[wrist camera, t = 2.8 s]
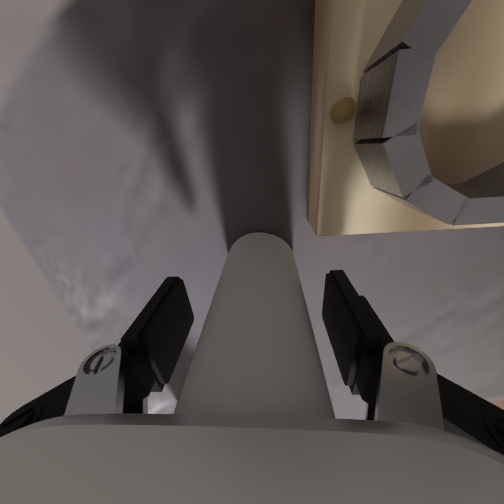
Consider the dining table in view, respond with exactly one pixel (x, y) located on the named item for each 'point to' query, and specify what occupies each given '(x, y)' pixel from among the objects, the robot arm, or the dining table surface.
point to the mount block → (431, 121)
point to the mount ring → (416, 120)
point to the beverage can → (257, 341)
